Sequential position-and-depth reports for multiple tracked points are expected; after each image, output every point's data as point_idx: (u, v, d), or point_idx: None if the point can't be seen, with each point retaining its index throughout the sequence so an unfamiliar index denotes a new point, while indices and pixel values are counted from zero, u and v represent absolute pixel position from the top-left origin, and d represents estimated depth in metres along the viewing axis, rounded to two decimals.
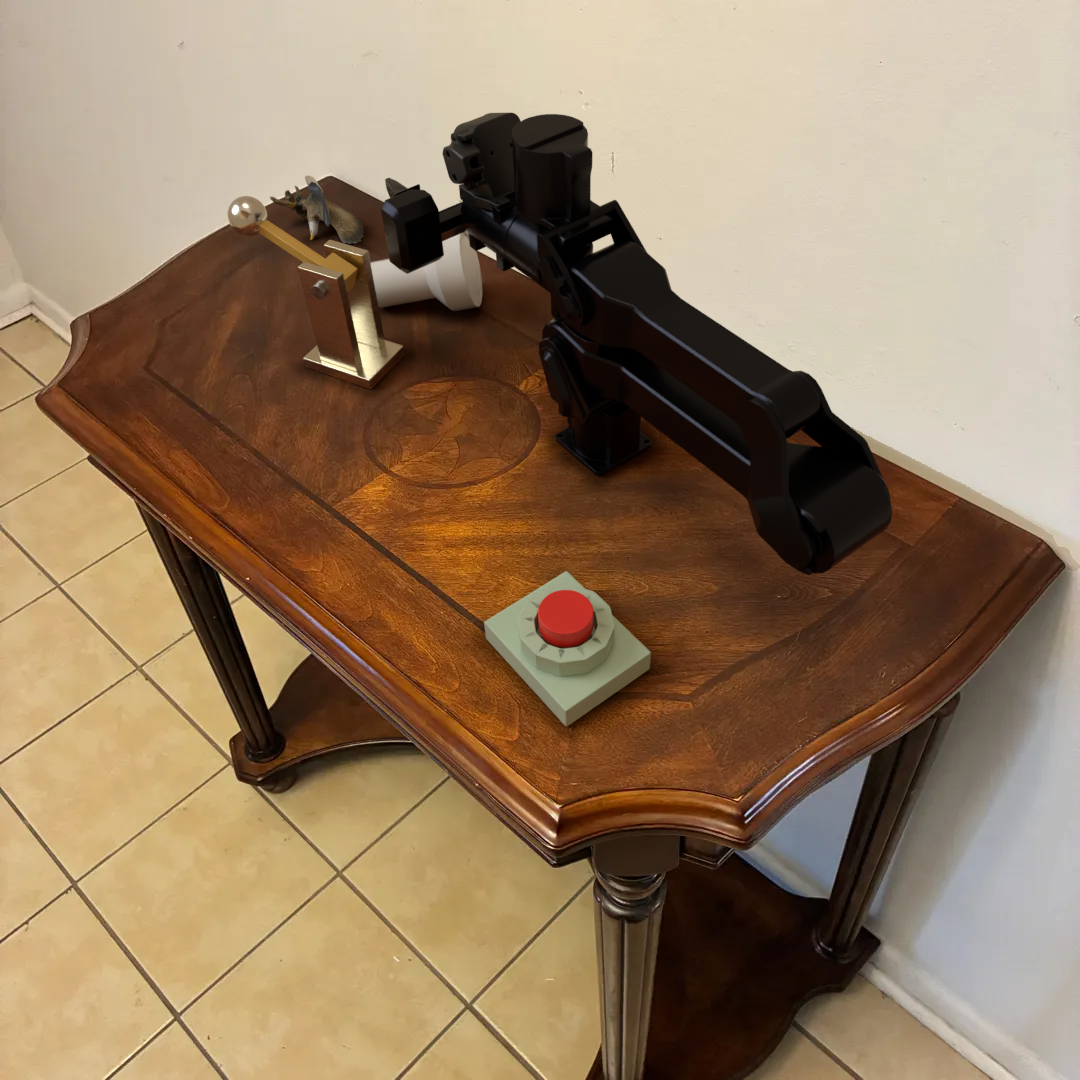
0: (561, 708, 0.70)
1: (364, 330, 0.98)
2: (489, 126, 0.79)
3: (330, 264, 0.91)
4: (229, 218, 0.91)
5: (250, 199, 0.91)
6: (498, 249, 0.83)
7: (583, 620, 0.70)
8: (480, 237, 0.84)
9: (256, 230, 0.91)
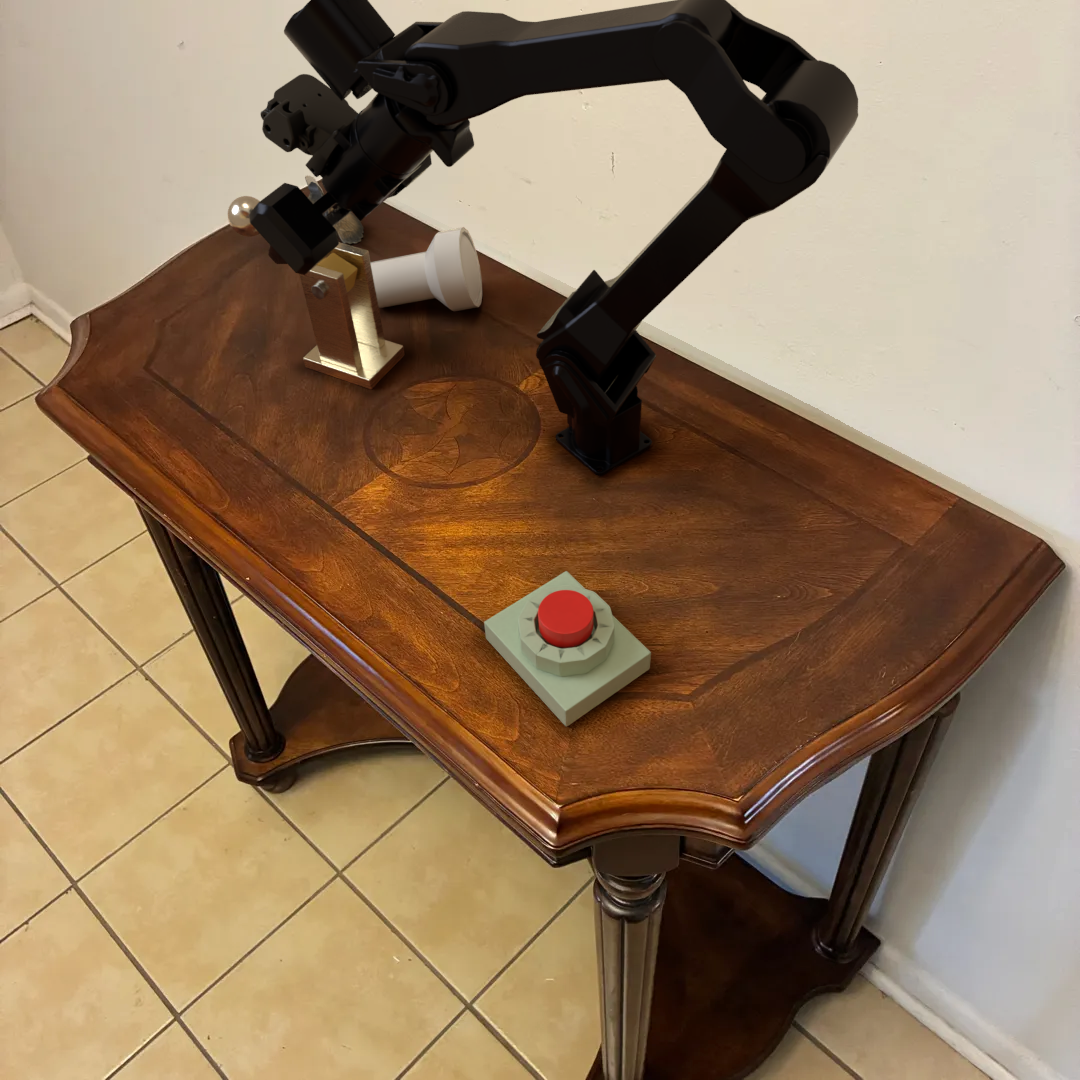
0: (561, 708, 0.70)
1: (364, 330, 0.98)
2: (287, 88, 0.78)
3: (330, 264, 0.91)
4: (229, 218, 0.91)
5: (250, 199, 0.91)
6: (367, 168, 0.77)
7: (583, 620, 0.70)
8: (352, 186, 0.79)
9: (256, 230, 0.91)
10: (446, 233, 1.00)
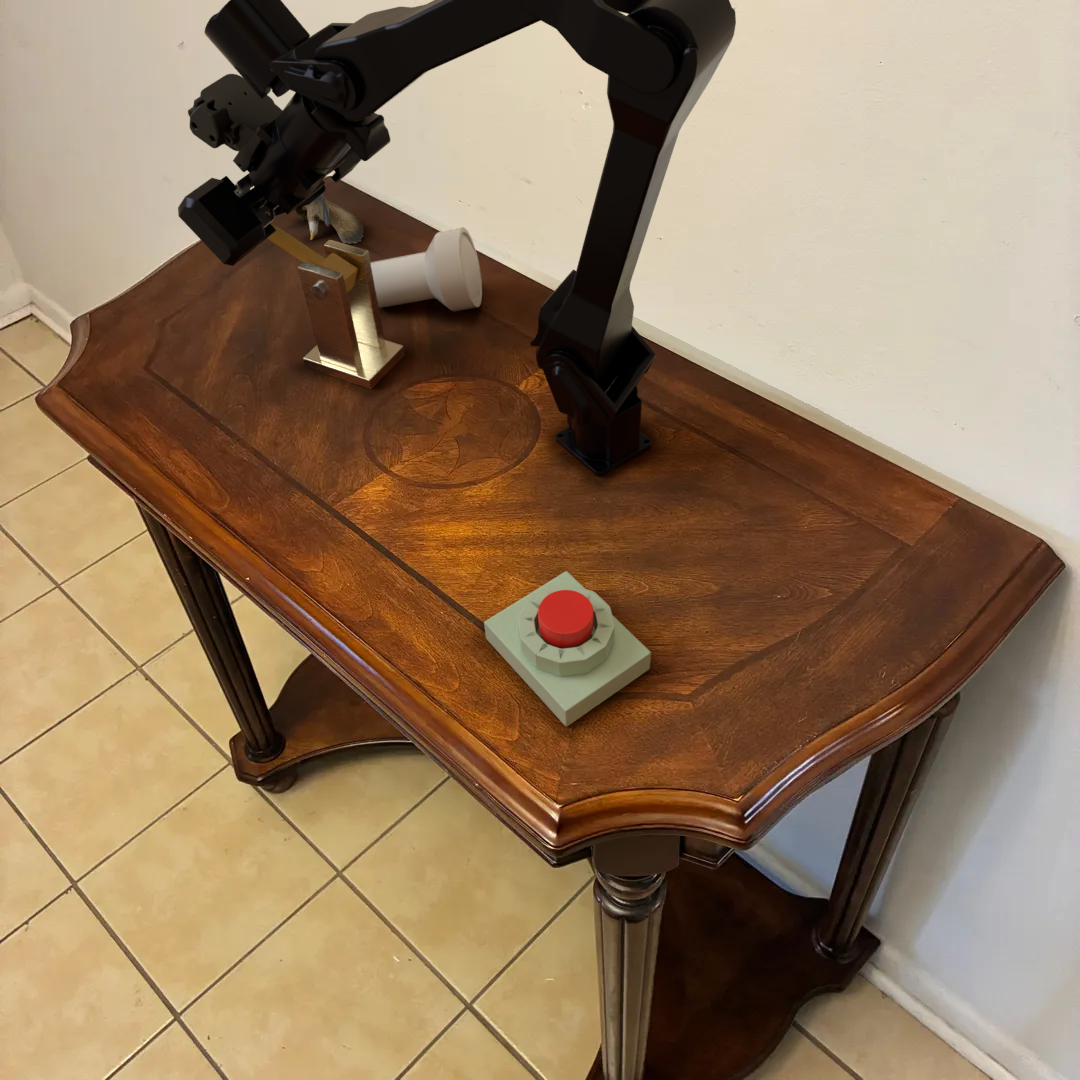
0: (561, 708, 0.70)
1: (364, 330, 0.98)
2: (214, 87, 0.82)
3: (330, 264, 0.91)
4: None
5: None
6: (289, 163, 0.81)
7: (583, 620, 0.70)
8: (277, 180, 0.83)
9: None
10: (446, 233, 1.00)
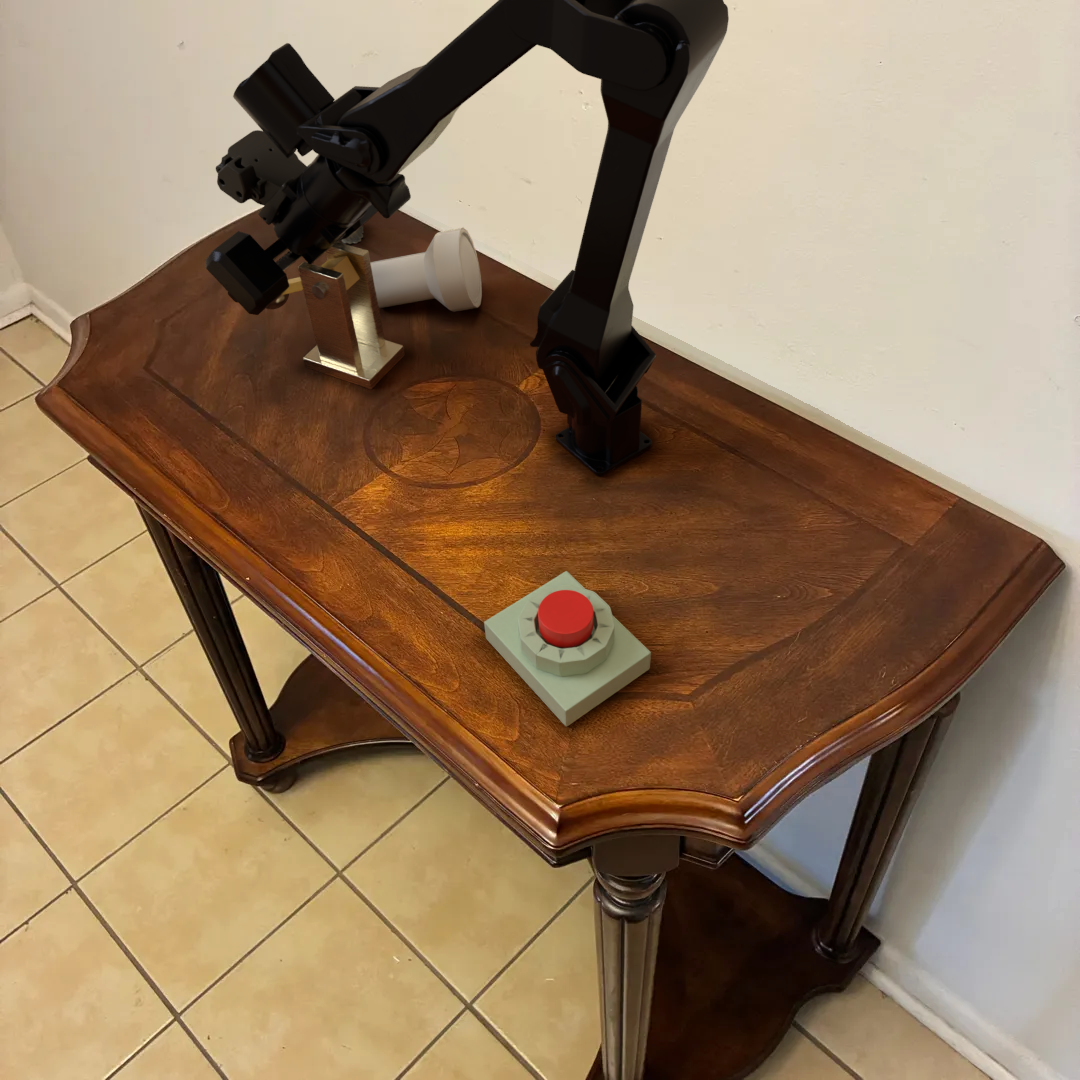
0: (561, 708, 0.70)
1: (364, 330, 0.98)
2: (240, 144, 0.85)
3: None
4: None
5: None
6: (313, 218, 0.84)
7: (583, 620, 0.70)
8: (301, 234, 0.86)
9: None
10: (446, 233, 0.99)
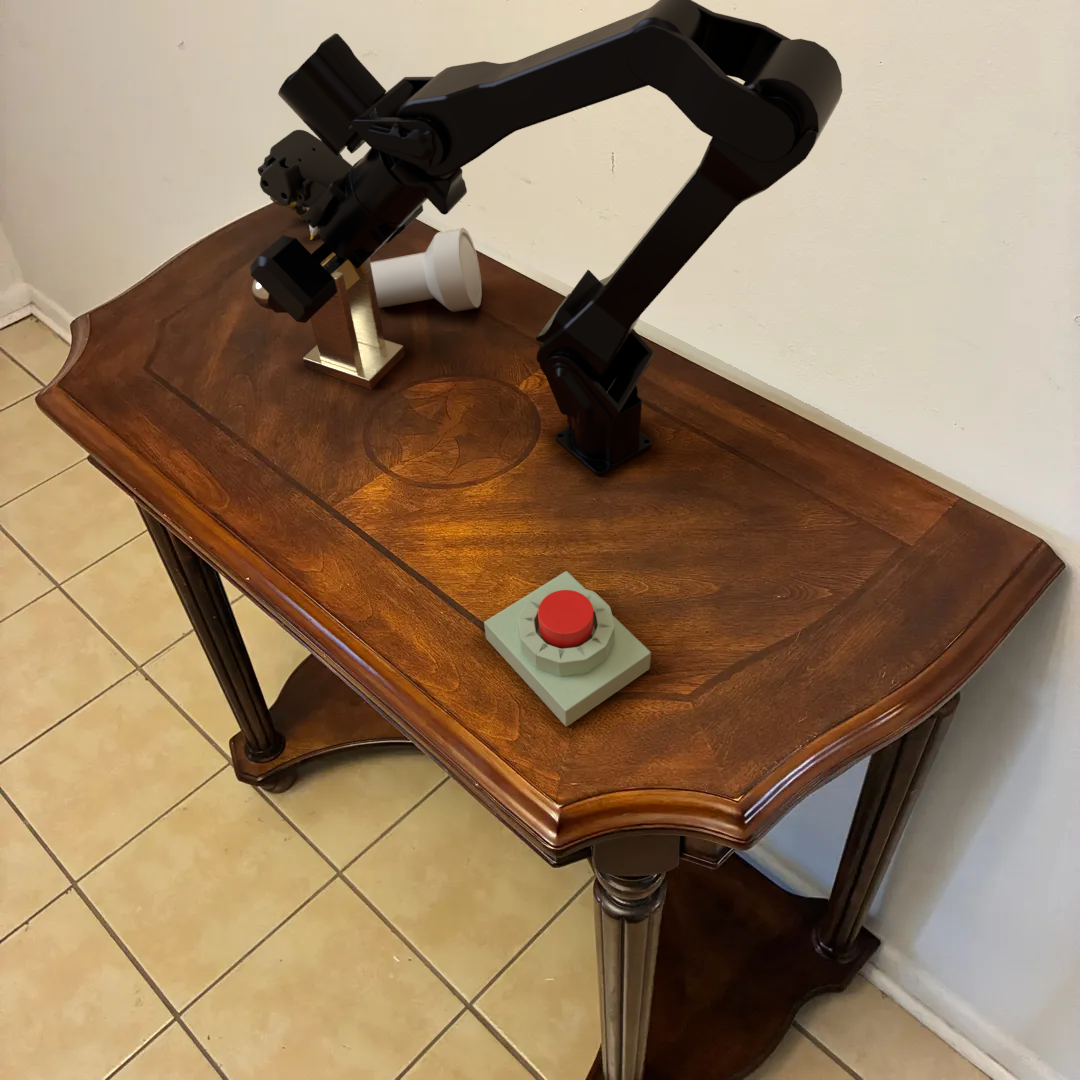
0: (561, 708, 0.70)
1: (364, 330, 0.98)
2: (282, 144, 0.81)
3: None
4: None
5: None
6: (363, 218, 0.80)
7: (583, 620, 0.70)
8: (349, 236, 0.82)
9: None
10: (445, 234, 0.99)
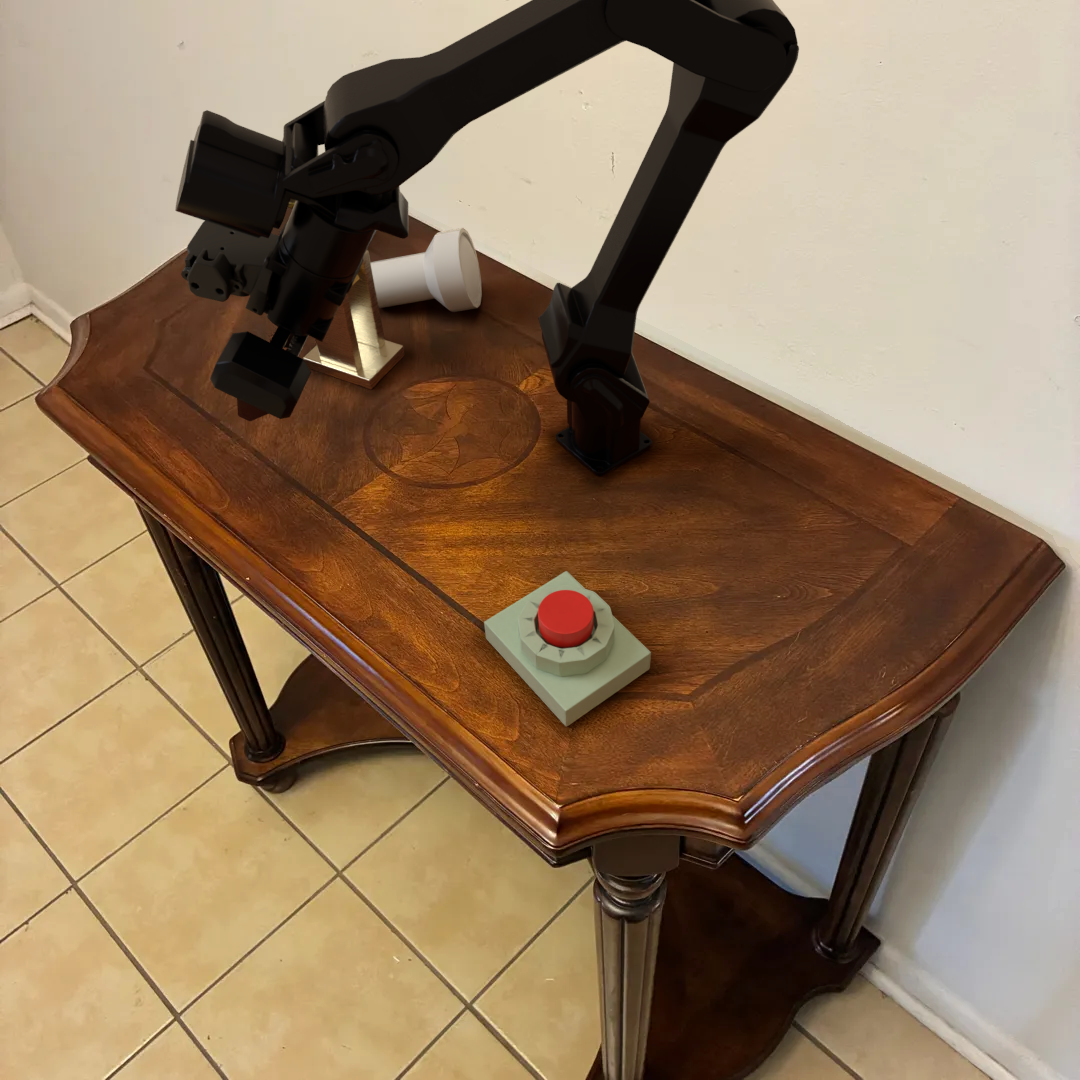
0: (561, 708, 0.70)
1: (364, 330, 0.98)
2: (197, 239, 0.72)
3: None
4: None
5: None
6: (312, 283, 0.71)
7: (583, 620, 0.70)
8: (302, 309, 0.73)
9: None
10: (445, 234, 0.99)
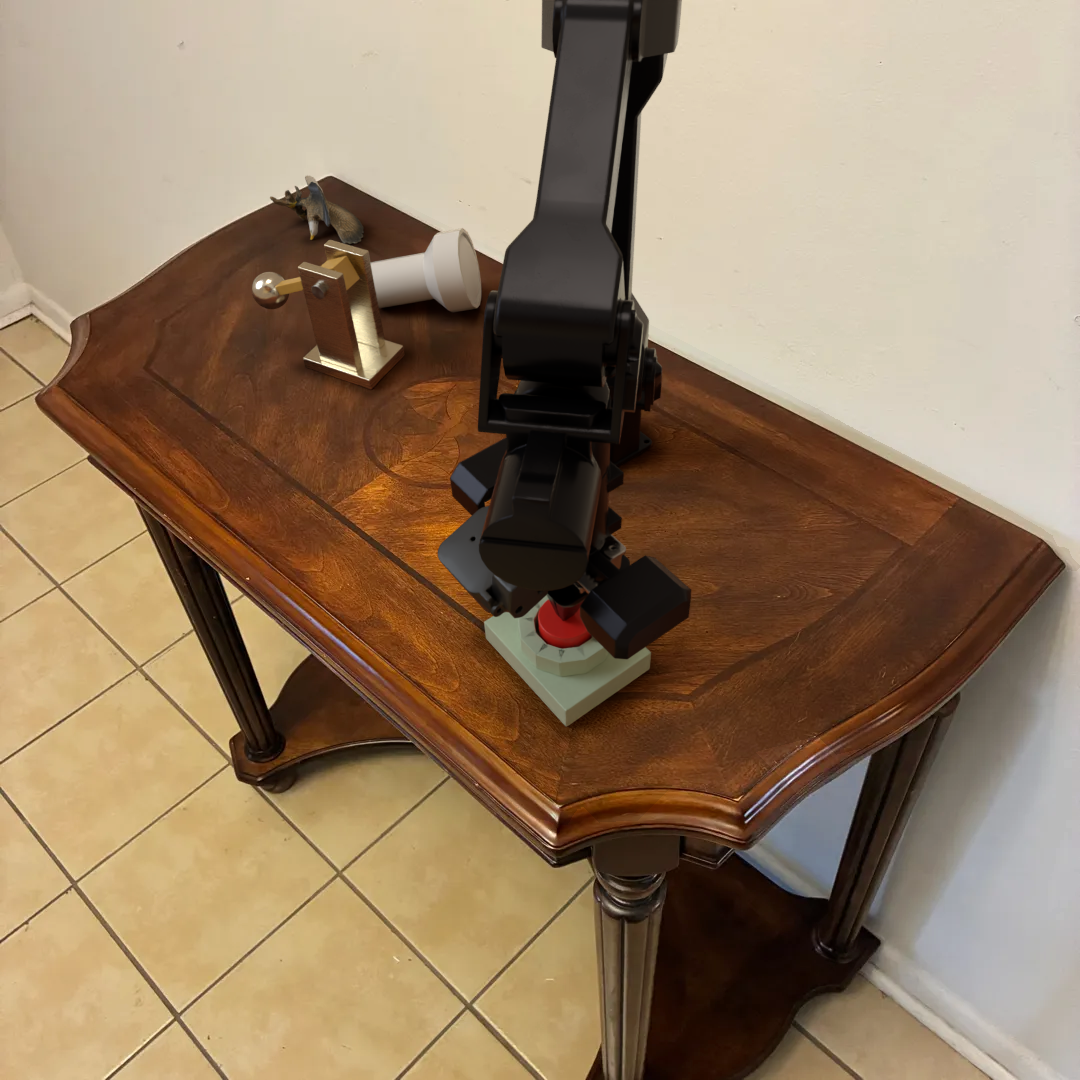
0: (561, 708, 0.70)
1: (364, 330, 0.98)
2: (463, 576, 0.60)
3: None
4: None
5: (262, 273, 0.97)
6: None
7: (583, 625, 0.71)
8: (598, 521, 0.61)
9: (274, 292, 0.96)
10: (445, 234, 0.99)
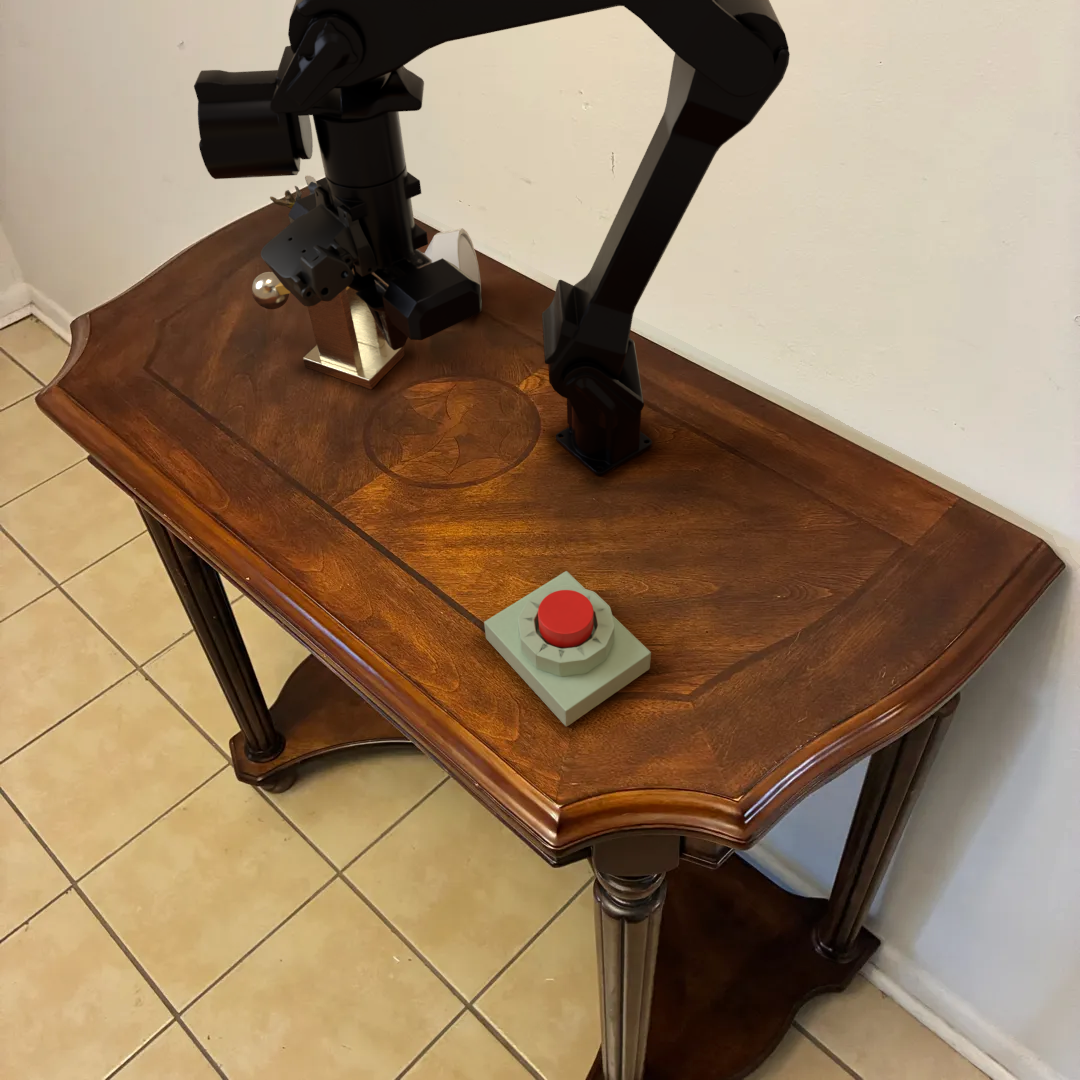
0: (561, 708, 0.70)
1: (364, 330, 0.98)
2: (279, 266, 0.69)
3: None
4: None
5: (262, 273, 0.97)
6: (394, 192, 0.69)
7: (583, 620, 0.70)
8: (400, 226, 0.71)
9: (274, 292, 0.96)
10: (445, 234, 0.99)
